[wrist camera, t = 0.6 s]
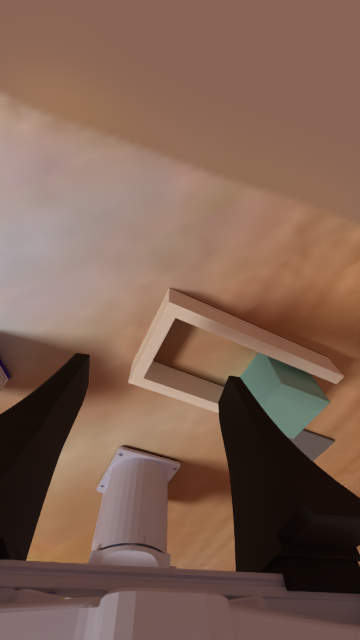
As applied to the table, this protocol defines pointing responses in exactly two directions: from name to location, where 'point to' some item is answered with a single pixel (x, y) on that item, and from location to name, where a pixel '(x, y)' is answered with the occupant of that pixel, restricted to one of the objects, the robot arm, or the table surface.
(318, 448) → the mat
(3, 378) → the supplement box
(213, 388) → the frame
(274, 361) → the block
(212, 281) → the table surface
